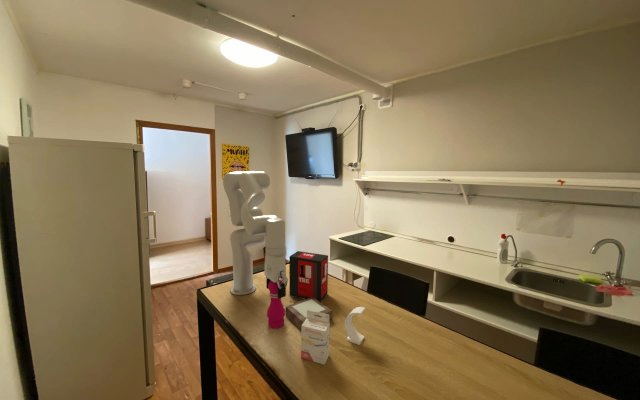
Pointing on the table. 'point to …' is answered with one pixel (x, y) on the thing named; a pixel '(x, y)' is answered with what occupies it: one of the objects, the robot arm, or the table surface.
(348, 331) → the headphone stand
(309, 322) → the ink cartridge box
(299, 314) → the walnut frame
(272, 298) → the pepper mill
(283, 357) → the table surface
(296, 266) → the cleaning product box
